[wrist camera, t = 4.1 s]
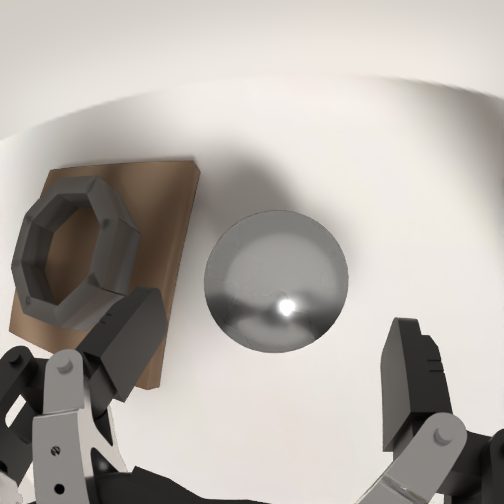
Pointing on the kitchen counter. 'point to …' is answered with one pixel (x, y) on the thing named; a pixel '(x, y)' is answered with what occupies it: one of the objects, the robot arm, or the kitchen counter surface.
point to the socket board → (99, 249)
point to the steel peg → (276, 281)
